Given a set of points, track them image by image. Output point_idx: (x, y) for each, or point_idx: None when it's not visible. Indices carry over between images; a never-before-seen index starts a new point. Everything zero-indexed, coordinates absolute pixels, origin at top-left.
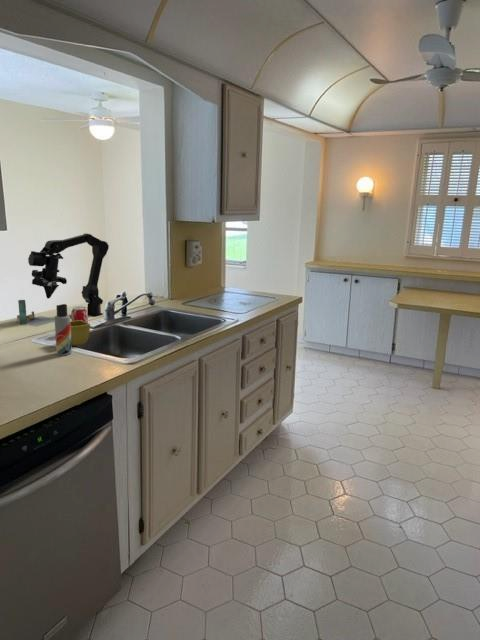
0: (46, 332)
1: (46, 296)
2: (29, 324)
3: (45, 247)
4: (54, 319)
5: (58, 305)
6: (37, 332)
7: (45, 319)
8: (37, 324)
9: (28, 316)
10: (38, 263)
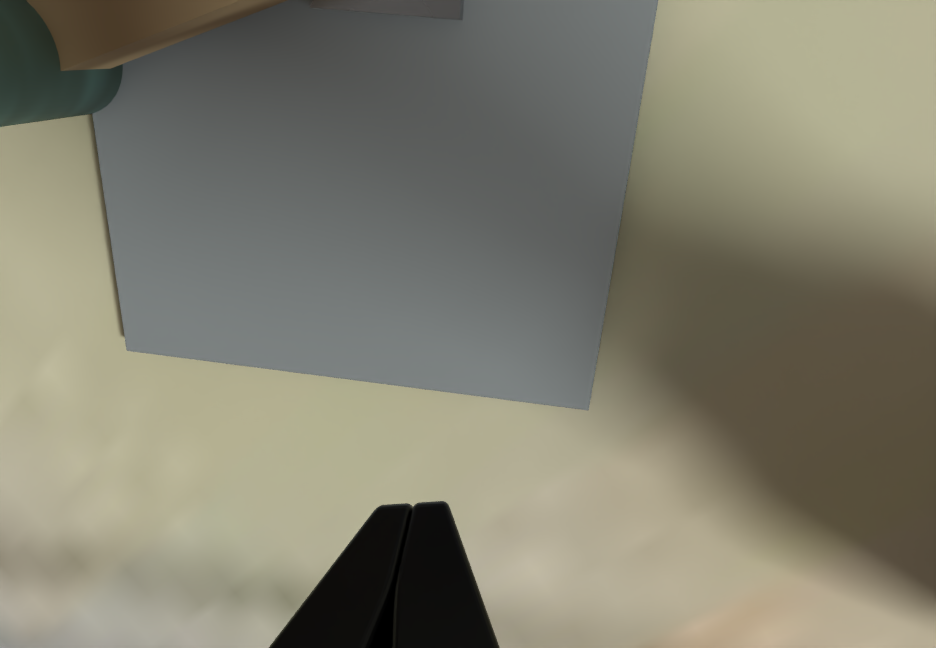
0: (85, 571)
1: (344, 552)
2: (114, 184)
3: None
4: (571, 301)
5: None
6: (17, 496)
7: (494, 166)
8: (191, 291)
9: (145, 30)
10: None
